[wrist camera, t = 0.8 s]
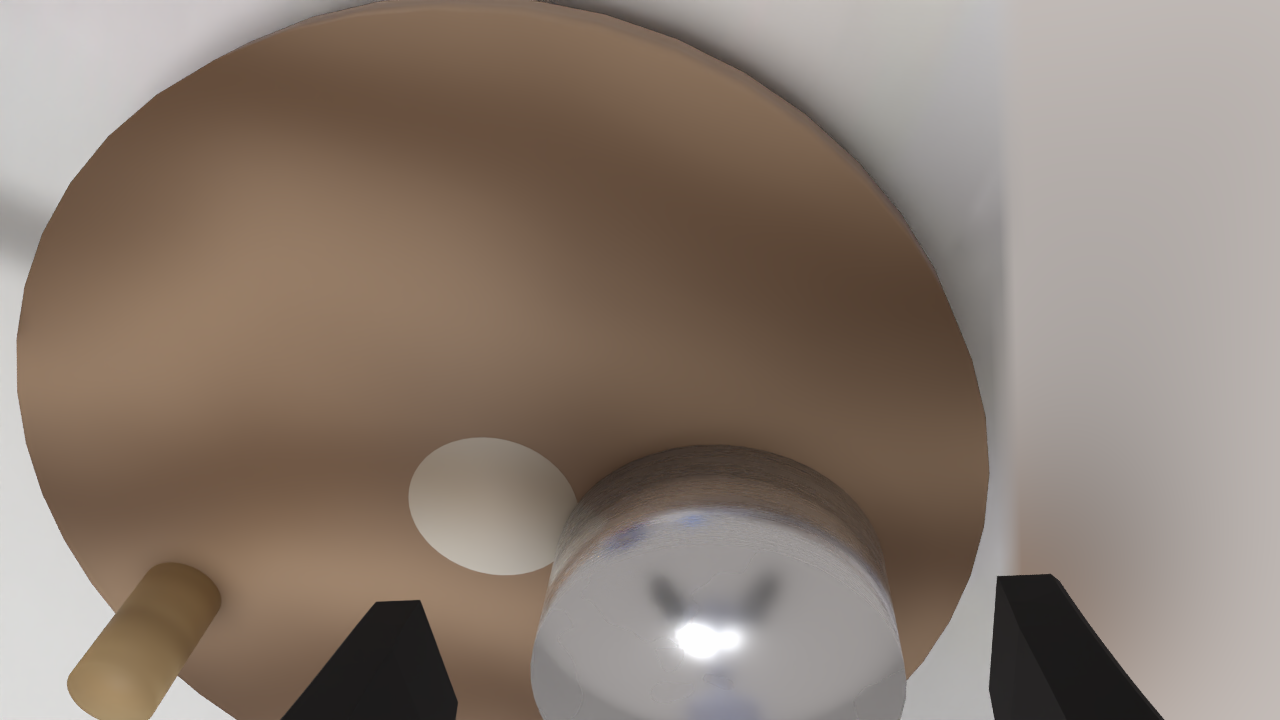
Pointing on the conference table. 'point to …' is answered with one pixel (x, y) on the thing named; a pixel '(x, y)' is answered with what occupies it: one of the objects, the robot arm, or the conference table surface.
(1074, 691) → the robot arm
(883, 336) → the platter
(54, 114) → the conference table surface
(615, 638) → the aluminium cap
